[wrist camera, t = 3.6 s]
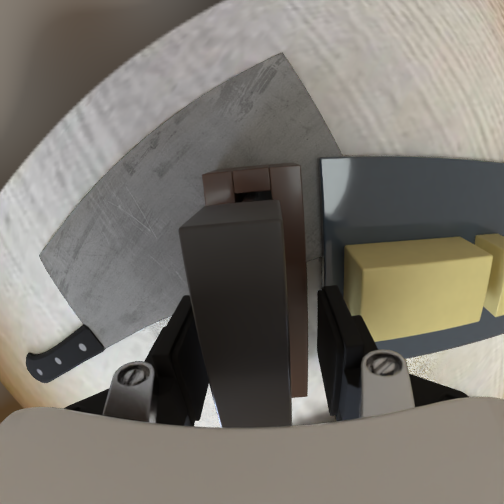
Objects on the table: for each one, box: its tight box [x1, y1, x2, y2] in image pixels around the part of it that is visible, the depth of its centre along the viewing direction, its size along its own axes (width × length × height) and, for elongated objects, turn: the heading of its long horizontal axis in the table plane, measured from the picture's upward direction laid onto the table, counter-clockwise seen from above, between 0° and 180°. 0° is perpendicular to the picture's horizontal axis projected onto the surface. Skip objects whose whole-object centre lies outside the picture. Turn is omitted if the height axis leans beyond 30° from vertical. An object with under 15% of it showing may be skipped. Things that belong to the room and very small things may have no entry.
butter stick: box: [344, 237, 493, 342], centre depth 13 cm, size 7×4×3 cm, turn 96°
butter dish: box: [317, 156, 504, 359], centre depth 15 cm, size 16×12×1 cm
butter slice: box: [475, 234, 504, 317], centre depth 13 cm, size 2×4×3 cm, turn 6°
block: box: [202, 163, 308, 398], centre depth 14 cm, size 4×12×3 cm, turn 5°
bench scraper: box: [178, 191, 292, 428], centre depth 12 cm, size 2×10×9 cm, turn 5°
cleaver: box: [26, 53, 342, 383], centre depth 16 cm, size 29×1×10 cm
